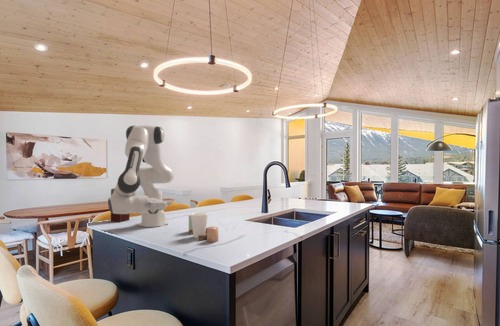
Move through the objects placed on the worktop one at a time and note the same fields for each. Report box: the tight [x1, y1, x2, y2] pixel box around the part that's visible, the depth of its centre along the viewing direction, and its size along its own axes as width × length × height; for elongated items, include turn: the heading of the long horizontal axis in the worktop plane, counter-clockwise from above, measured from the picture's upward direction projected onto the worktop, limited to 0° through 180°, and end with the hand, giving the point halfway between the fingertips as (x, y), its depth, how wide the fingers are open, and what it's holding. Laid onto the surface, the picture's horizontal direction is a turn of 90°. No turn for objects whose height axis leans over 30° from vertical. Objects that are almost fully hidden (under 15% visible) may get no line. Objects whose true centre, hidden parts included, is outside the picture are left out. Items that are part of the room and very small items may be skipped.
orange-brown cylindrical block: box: [206, 226, 219, 243], centre depth 149 cm, size 6×6×7 cm
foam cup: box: [190, 211, 209, 239], centre depth 158 cm, size 10×9×13 cm
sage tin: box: [188, 214, 193, 231], centre depth 170 cm, size 6×6×10 cm
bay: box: [188, 227, 207, 241], centre depth 160 cm, size 11×16×2 cm
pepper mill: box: [110, 188, 131, 223], centre depth 203 cm, size 9×11×28 cm
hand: (170, 203), depth 151 cm, fingers closed
